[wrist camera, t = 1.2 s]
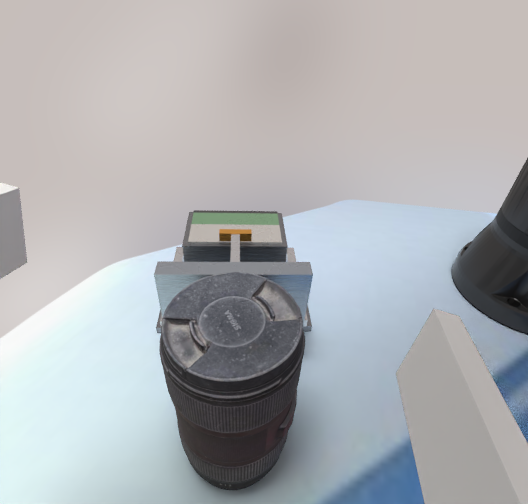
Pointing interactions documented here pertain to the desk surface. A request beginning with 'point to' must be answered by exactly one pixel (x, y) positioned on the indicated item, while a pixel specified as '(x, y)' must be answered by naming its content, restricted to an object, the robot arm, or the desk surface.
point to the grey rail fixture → (283, 273)
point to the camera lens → (233, 373)
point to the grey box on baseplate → (212, 250)
